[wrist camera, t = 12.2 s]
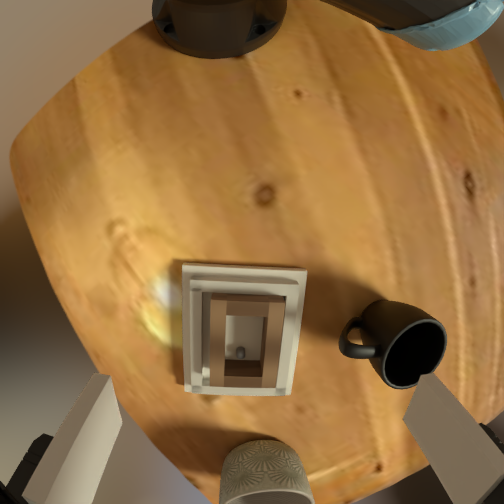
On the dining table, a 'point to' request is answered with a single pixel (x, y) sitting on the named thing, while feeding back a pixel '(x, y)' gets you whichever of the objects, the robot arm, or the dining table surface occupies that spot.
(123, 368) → the dining table surface
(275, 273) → the white flat rectangular tray
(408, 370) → the mug
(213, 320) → the frame
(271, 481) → the planter
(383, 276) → the dining table surface
